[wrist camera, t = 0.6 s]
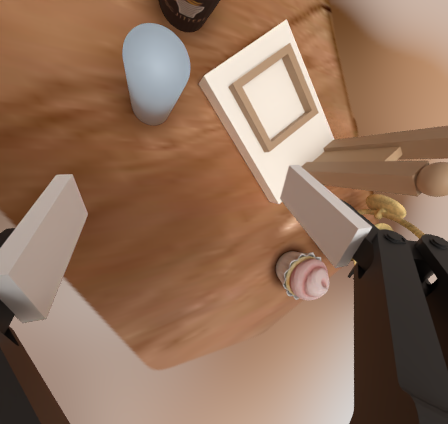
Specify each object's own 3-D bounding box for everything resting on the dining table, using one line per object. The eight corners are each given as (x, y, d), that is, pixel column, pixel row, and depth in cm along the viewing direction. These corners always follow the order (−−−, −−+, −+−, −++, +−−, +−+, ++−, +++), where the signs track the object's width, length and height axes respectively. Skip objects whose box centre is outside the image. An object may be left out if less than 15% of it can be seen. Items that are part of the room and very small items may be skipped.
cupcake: (313, 261, 46) (356, 285, 37) (285, 293, 45) (321, 326, 36) (291, 233, 43) (332, 253, 33) (259, 269, 42) (293, 298, 32)
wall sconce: (342, 185, 45) (553, 208, 22) (361, 214, 48) (558, 259, 25) (300, 235, 43) (475, 316, 21) (322, 261, 47) (492, 353, 24)
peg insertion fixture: (198, 83, 31) (315, -83, 10) (275, 31, 33) (500, -194, 12) (269, 201, 39) (414, 245, 18) (327, 153, 41) (514, 143, 21)
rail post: (122, 98, 28) (106, 44, 15) (153, 78, 29) (163, 10, 16) (148, 132, 30) (153, 109, 17) (177, 112, 31) (202, 76, 18)
